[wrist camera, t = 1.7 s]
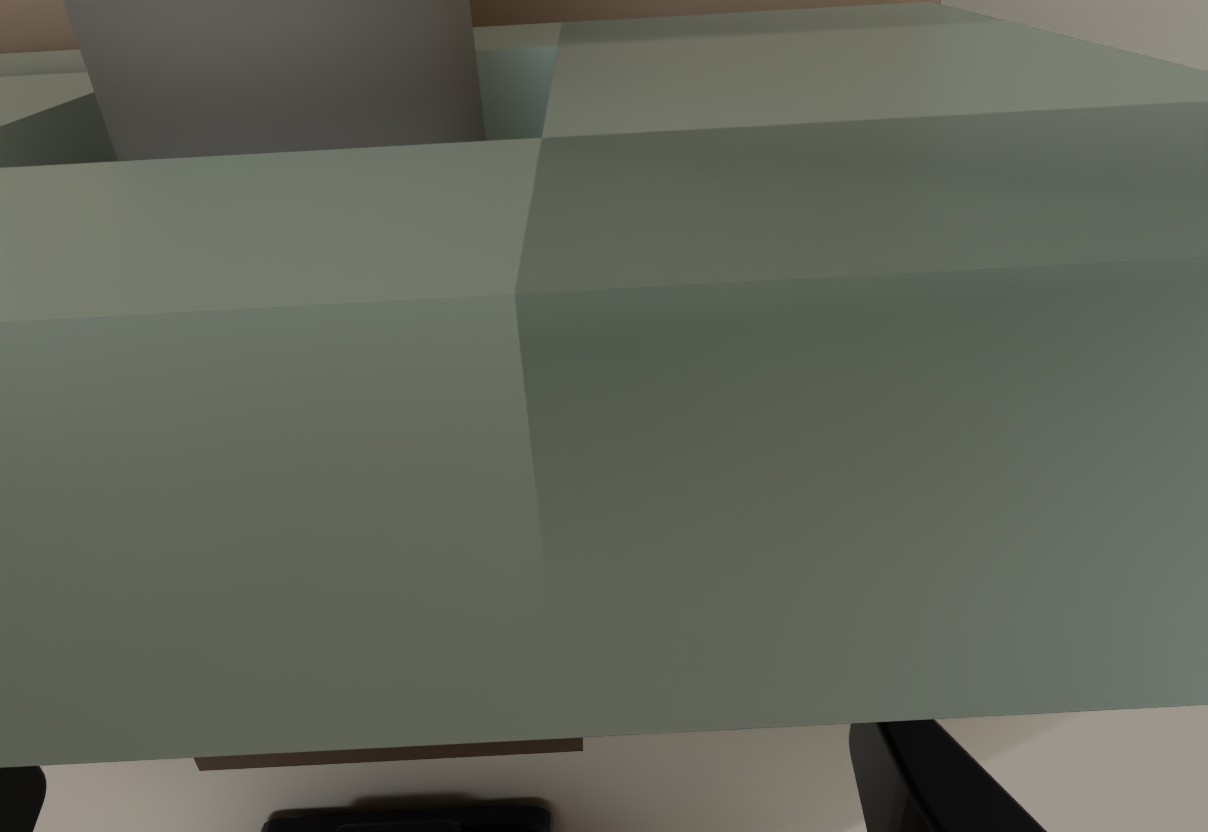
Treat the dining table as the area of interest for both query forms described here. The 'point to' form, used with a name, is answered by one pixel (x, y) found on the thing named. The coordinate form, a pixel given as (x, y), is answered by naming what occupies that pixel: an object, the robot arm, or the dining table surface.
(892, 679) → the collar
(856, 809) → the dining table surface
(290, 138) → the pipe stand
